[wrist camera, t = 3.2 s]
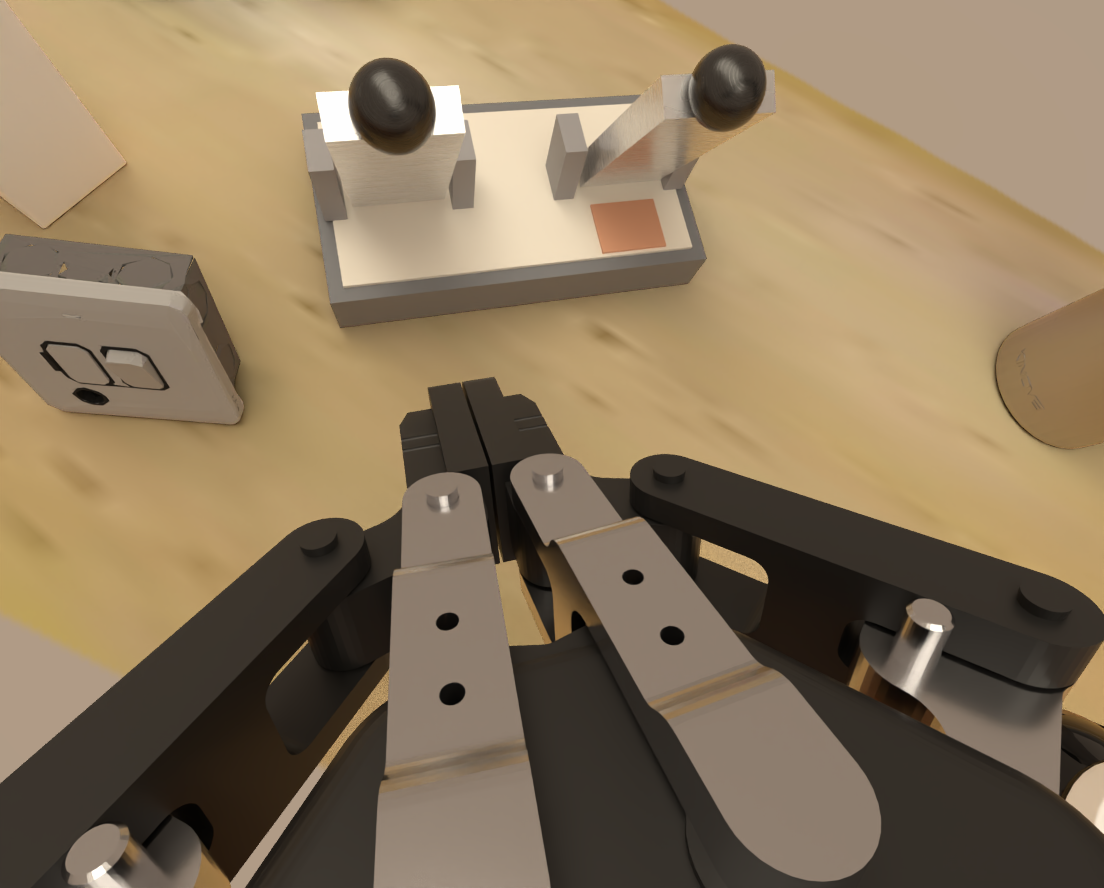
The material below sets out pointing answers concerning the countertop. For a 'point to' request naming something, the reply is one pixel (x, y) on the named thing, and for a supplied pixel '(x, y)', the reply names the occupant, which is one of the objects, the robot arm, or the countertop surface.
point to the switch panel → (504, 221)
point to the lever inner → (683, 118)
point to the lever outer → (393, 134)
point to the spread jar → (1083, 766)
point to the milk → (45, 131)
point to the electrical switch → (116, 331)
